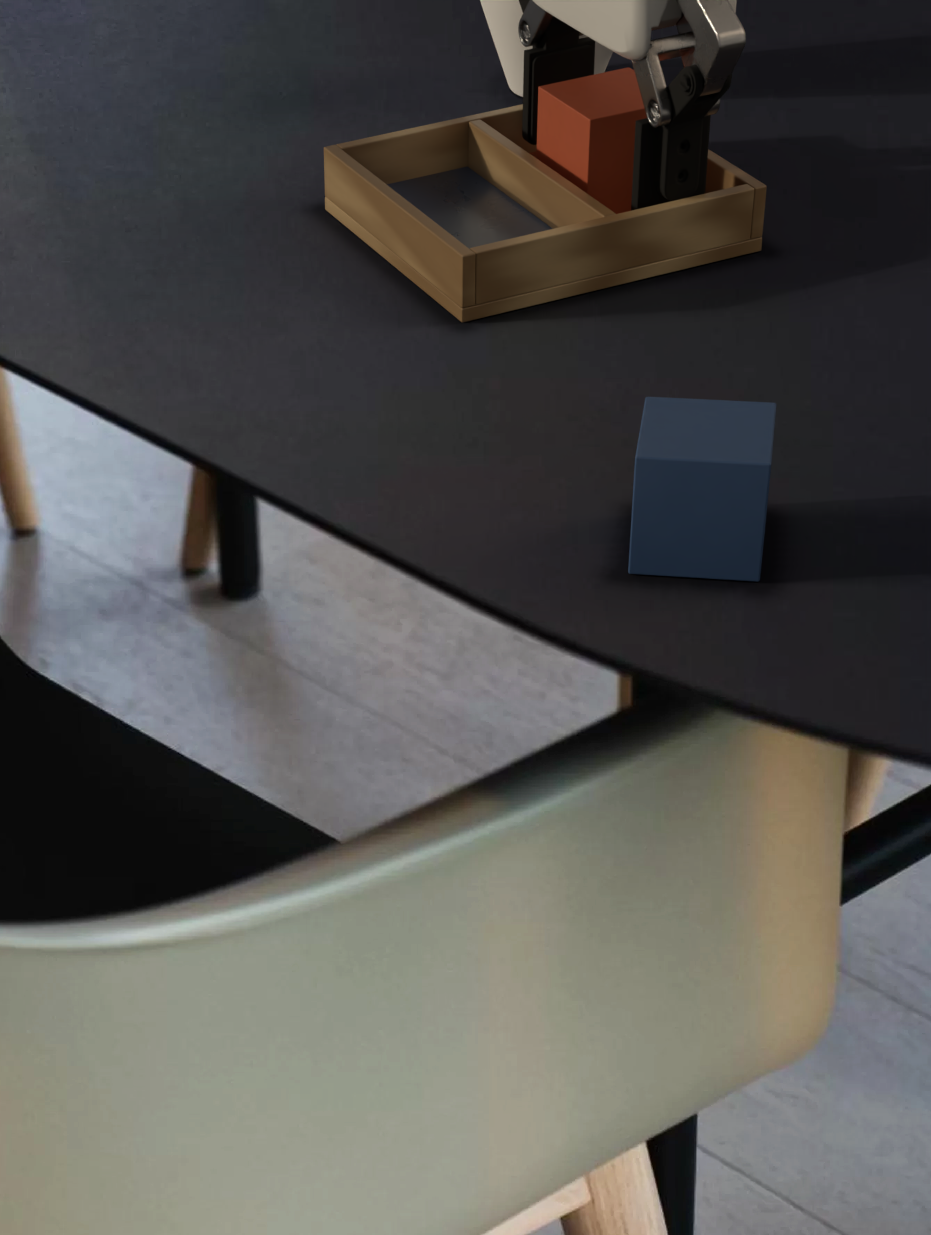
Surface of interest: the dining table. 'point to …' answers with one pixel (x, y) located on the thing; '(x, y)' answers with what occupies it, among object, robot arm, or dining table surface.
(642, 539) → the blue block
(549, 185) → the tray
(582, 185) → the terracotta block
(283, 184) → the dining table surface
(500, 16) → the mug
